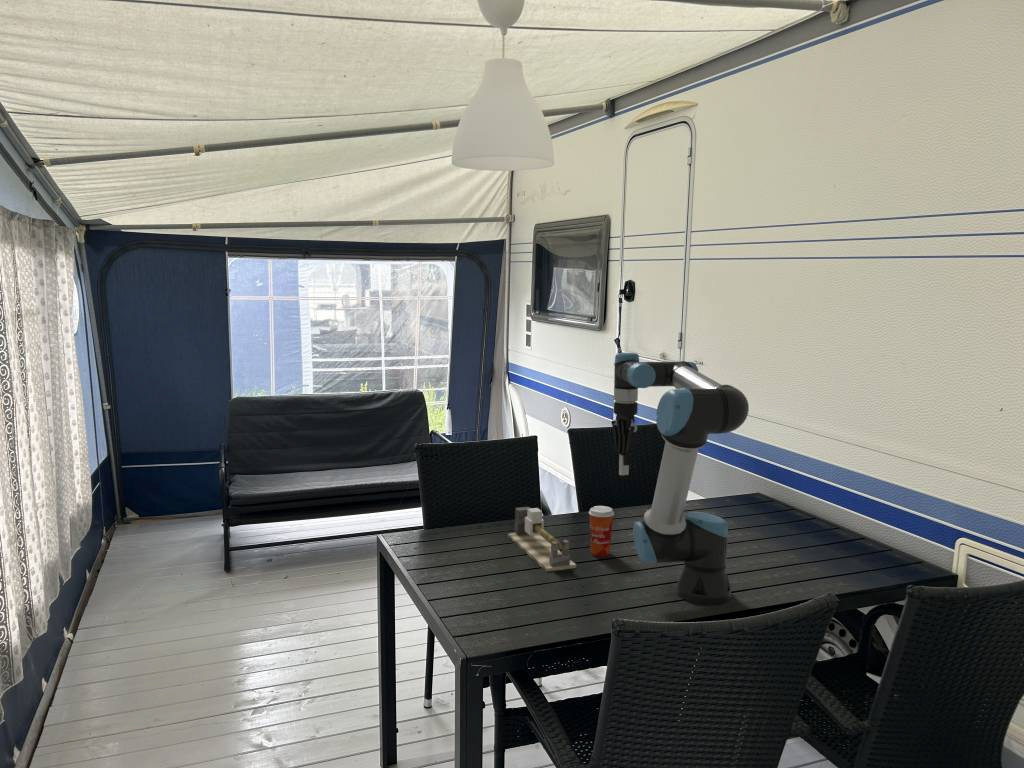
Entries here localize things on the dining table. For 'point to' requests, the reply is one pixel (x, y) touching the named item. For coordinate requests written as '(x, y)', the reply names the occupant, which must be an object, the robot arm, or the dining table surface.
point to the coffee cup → (600, 530)
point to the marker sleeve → (533, 520)
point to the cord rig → (541, 545)
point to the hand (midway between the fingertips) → (623, 474)
